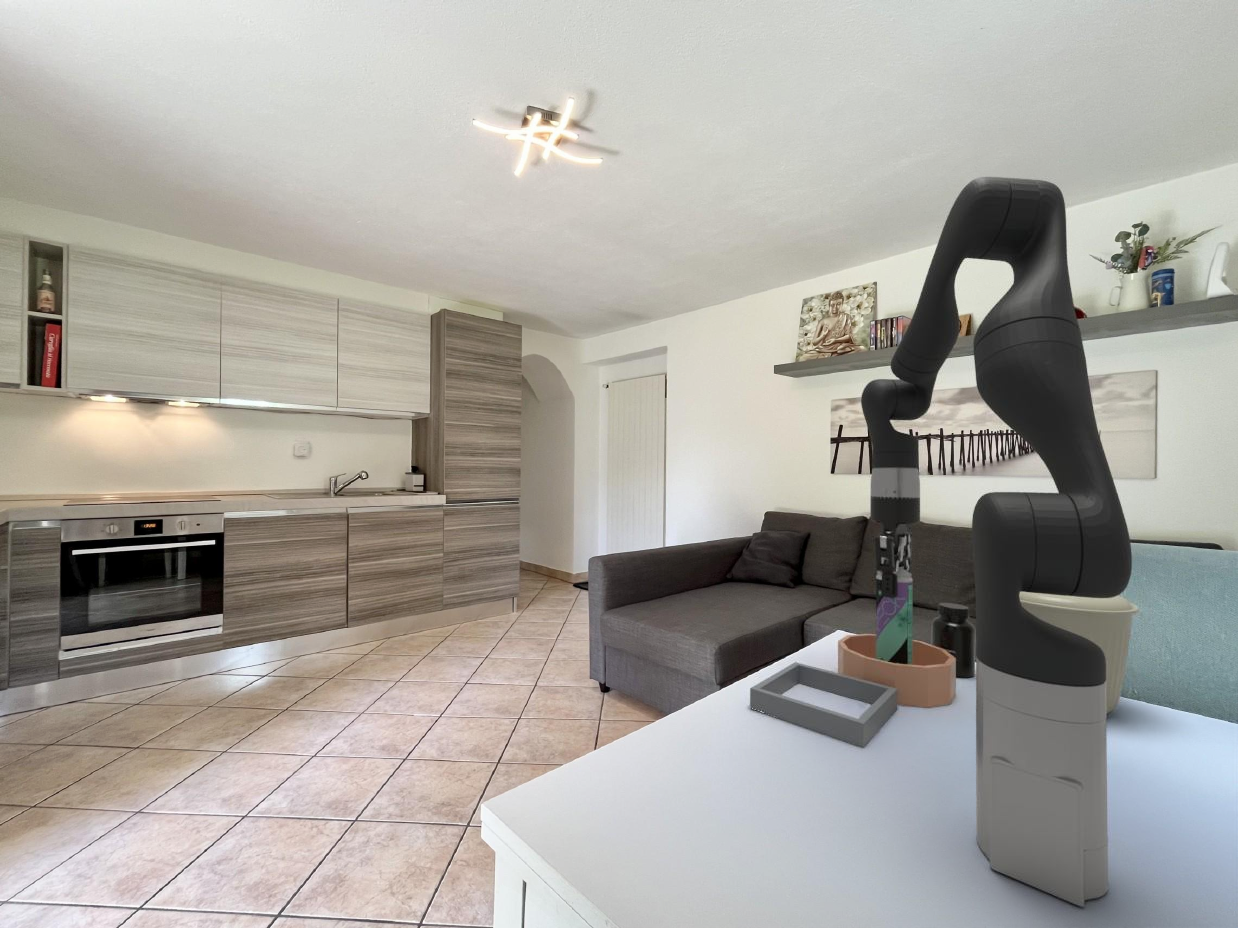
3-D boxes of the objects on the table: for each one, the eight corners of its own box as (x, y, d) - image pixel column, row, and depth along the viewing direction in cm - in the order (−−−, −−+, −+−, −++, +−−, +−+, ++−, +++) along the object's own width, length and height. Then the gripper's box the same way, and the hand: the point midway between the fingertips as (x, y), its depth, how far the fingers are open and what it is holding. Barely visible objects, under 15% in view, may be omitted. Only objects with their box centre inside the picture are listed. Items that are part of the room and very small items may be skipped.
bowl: (941, 717, 75) (941, 675, 76) (824, 684, 87) (824, 648, 87) (962, 684, 88) (962, 649, 88) (857, 660, 99) (858, 628, 100)
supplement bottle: (937, 675, 92) (937, 608, 93) (926, 663, 99) (926, 599, 99) (981, 680, 90) (981, 611, 91) (967, 667, 97) (967, 603, 97)
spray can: (880, 668, 91) (880, 555, 92) (915, 676, 88) (915, 558, 88) (872, 677, 87) (872, 558, 88) (909, 686, 83) (909, 561, 84)
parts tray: (863, 747, 66) (863, 723, 66) (750, 708, 77) (750, 688, 77) (897, 708, 78) (897, 688, 78) (795, 679, 89) (795, 661, 89)
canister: (988, 671, 95) (988, 556, 95) (1124, 696, 84) (1122, 567, 85) (991, 705, 80) (991, 569, 80) (1157, 741, 70) (1154, 584, 70)
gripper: (908, 495, 81) (908, 605, 80) (929, 495, 91) (929, 592, 91) (858, 494, 86) (857, 597, 85) (883, 494, 96) (883, 585, 96)
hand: (894, 593), depth 88 cm, fingers closed on spray can, 5 cm apart
